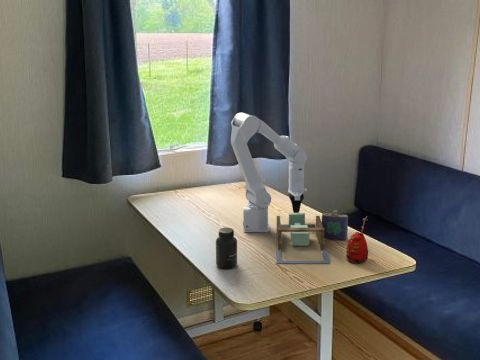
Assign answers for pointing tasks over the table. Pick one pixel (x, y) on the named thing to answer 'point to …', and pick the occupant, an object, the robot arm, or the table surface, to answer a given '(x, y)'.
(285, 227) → the mat
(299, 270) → the table surface
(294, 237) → the teal block
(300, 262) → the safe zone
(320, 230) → the tunnel
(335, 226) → the flask
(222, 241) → the supplement bottle
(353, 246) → the red clay folk toy
